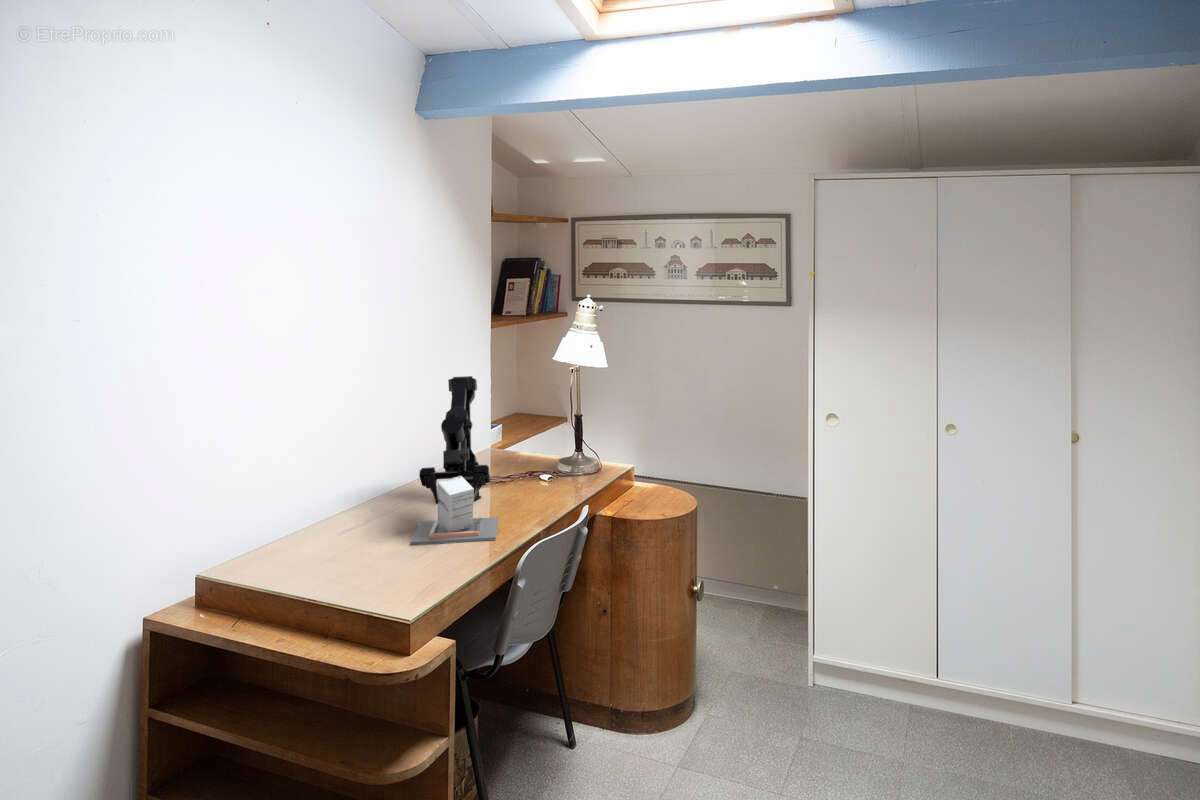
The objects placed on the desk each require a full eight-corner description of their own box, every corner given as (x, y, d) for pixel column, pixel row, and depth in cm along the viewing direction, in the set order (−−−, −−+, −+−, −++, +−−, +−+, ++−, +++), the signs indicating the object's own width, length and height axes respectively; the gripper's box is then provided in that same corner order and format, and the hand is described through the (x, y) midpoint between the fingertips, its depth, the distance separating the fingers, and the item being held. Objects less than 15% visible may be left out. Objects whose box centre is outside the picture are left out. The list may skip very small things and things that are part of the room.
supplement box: (436, 520, 217) (436, 481, 211) (461, 512, 221) (462, 474, 215) (448, 534, 212) (449, 495, 206) (473, 526, 216) (474, 488, 210)
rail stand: (420, 524, 224) (420, 518, 224) (498, 519, 226) (498, 513, 226) (410, 545, 207) (410, 538, 206) (495, 540, 208) (495, 533, 208)
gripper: (418, 439, 216) (414, 488, 206) (487, 435, 217) (486, 485, 208) (423, 461, 224) (420, 509, 215) (490, 458, 226) (490, 506, 217)
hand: (454, 502), depth 213 cm, fingers closed on supplement box, 9 cm apart
